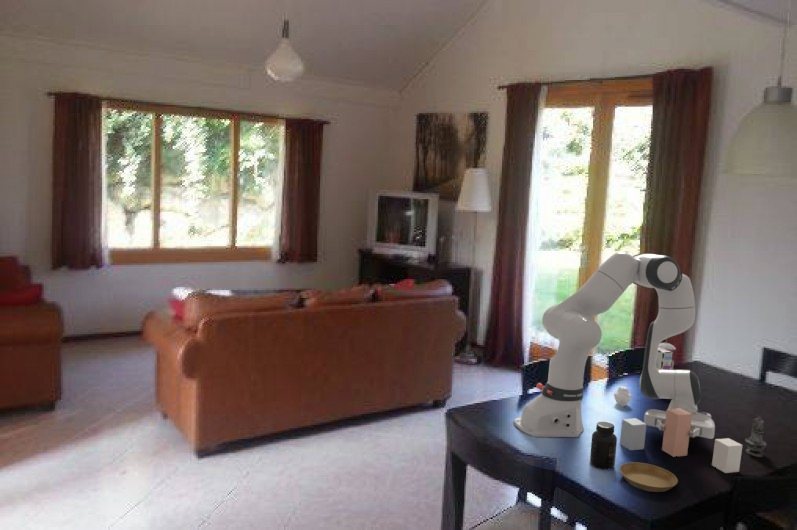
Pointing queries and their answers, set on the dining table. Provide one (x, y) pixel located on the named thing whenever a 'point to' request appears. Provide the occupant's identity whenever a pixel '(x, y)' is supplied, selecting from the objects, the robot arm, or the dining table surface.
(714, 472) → the dining table surface
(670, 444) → the coral block
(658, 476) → the plant saucer
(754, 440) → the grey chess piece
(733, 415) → the dining table surface
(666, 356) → the candy bar box
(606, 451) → the supplement bottle
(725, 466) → the off-white block
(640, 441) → the grey-blue block
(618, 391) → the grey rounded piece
